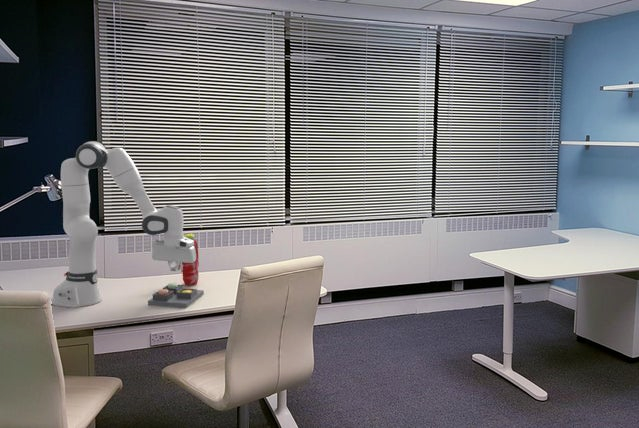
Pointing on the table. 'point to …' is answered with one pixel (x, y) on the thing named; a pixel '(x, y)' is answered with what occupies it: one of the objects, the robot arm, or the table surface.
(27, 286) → the table surface
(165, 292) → the terracotta button
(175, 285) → the sage button
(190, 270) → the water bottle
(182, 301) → the button panel
